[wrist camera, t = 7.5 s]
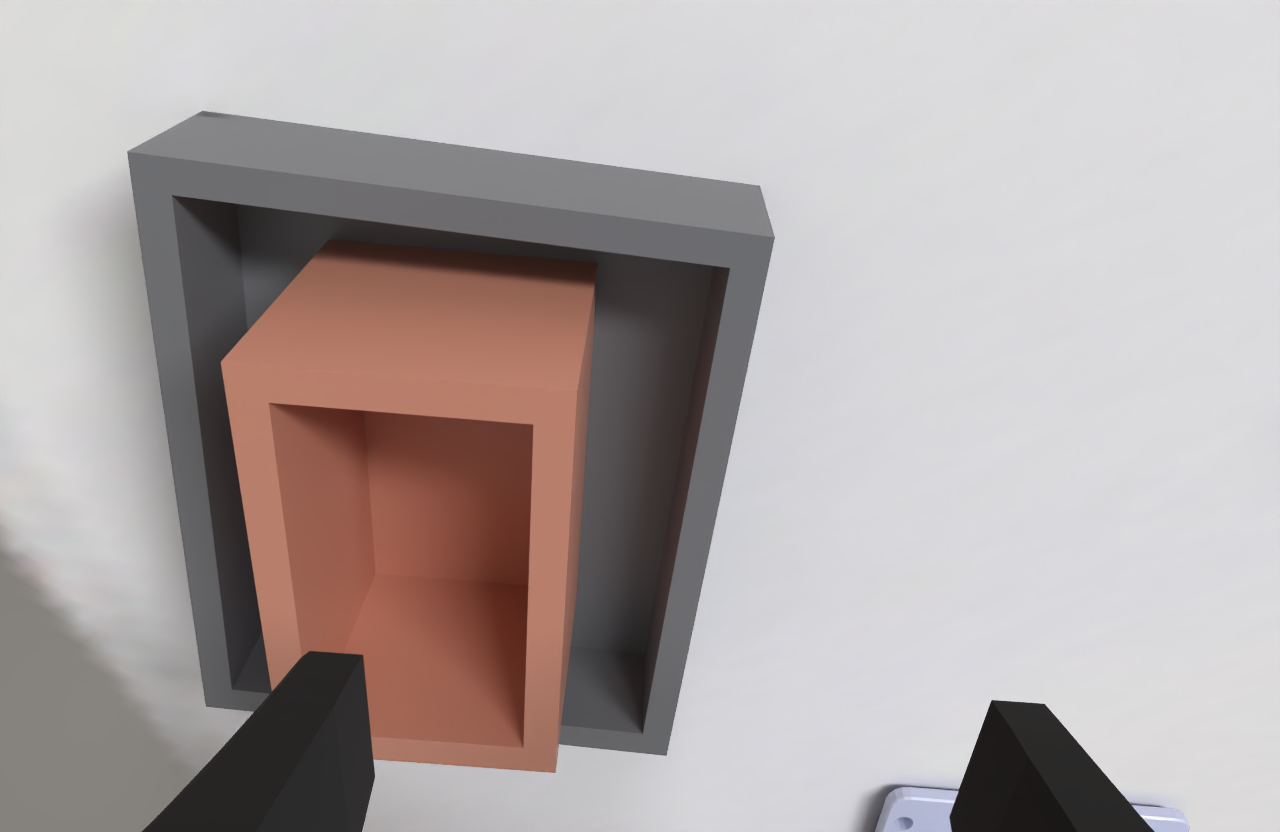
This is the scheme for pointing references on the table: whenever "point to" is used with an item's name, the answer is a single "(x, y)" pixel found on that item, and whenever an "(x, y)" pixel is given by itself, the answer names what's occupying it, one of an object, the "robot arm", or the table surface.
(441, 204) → the charcoal crate
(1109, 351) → the table surface
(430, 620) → the terracotta crate
